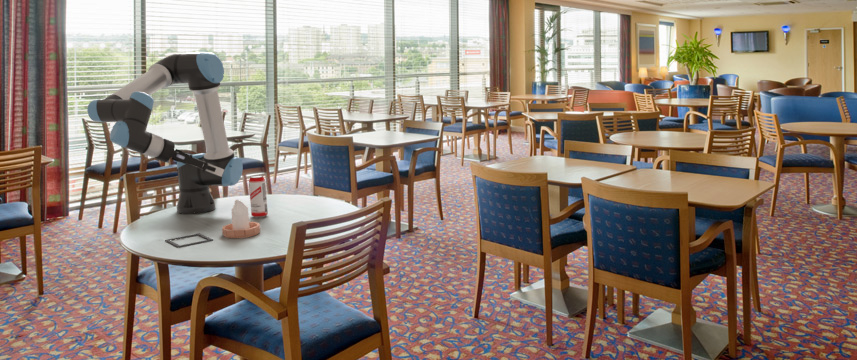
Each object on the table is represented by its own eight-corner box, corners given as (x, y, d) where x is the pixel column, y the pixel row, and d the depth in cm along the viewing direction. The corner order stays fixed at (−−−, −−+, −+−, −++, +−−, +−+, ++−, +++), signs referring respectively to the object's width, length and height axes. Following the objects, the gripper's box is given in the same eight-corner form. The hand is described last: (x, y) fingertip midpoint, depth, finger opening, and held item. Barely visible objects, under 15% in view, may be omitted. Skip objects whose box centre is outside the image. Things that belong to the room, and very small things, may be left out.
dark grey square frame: (165, 241, 231) (165, 239, 230) (199, 234, 238) (199, 233, 238) (178, 247, 222) (178, 246, 221) (213, 240, 229) (212, 239, 229)
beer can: (263, 218, 259) (260, 177, 256) (248, 218, 260) (245, 177, 257) (270, 214, 265) (267, 174, 262) (255, 214, 266) (252, 174, 264)
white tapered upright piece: (250, 197, 237) (243, 200, 231) (252, 230, 239) (246, 234, 233) (234, 197, 238) (227, 200, 232) (237, 230, 240) (230, 234, 234)
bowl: (217, 234, 238) (216, 226, 237) (250, 227, 246) (249, 219, 245) (232, 240, 228) (231, 232, 228) (266, 233, 236) (265, 225, 236)
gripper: (143, 153, 235) (198, 174, 249) (166, 163, 216) (224, 185, 230) (151, 134, 236) (206, 155, 249) (175, 142, 217) (233, 165, 230)
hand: (215, 170), depth 239 cm, fingers open, 13 cm apart
